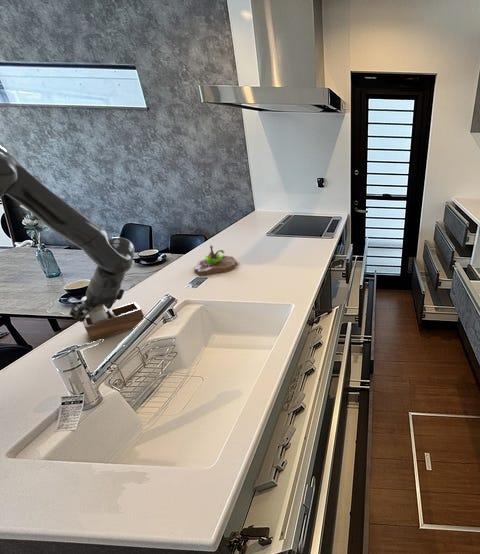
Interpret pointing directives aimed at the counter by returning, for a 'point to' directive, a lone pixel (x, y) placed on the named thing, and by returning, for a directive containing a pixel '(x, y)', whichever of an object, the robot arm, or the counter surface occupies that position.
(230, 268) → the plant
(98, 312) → the sprinkles bottle
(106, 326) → the spice rack
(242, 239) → the counter surface
